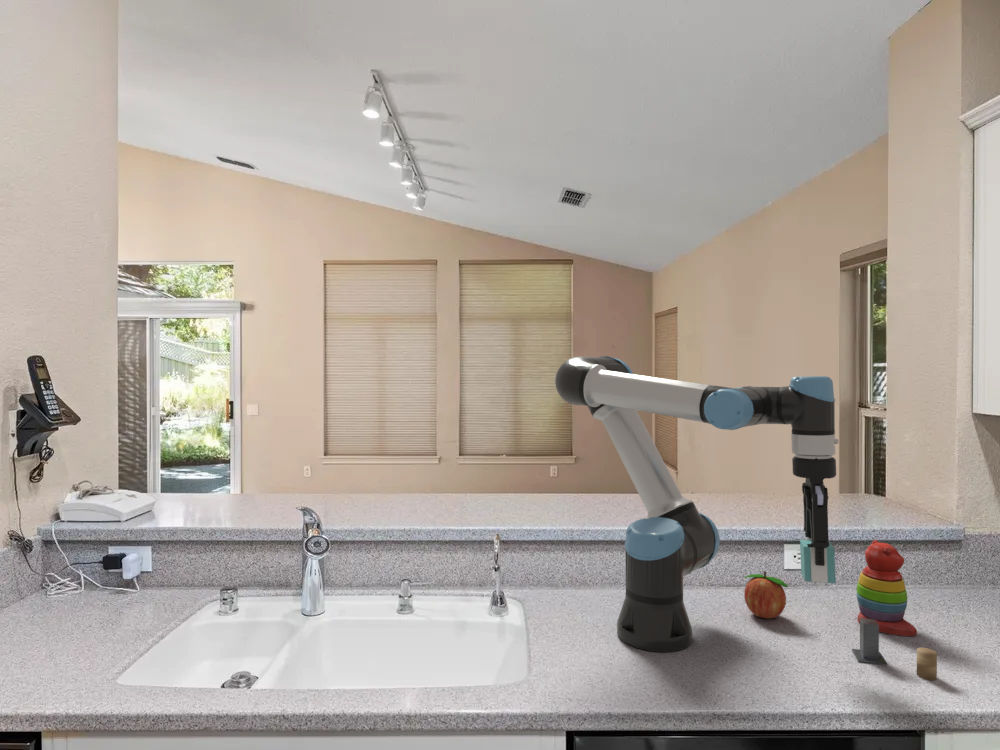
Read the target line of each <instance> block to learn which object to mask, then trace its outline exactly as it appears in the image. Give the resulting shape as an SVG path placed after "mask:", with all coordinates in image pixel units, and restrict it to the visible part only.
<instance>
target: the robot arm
mask: <svg viewBox="0 0 1000 750" xmlns="http://www.w3.org/2000/svg"><path fill="white" fill-rule="evenodd" d="M554 379H555V380H554V383H555V389H556V392H557V393H558V396H560V397H561V399H562V400H563V401H565V402H566V403H568V404H570V405H575V406H586V407H587V408H588V411H589V412H590V414H591V416H592V418H593V419H594V420H598V421H600V422H602V424H603V425H604V427H605V430H606V433H608V436H609V438H610V439H611V442H612V444H613V446H614V448H615V450H616V452H617V453H618V456H619V457H620V459H621V462H622V463H623V465H624V467H625V469H626V471H627V473H628V476H629V477H630V480H631V482H632V483H633V485H634V487H635V489H636V491H637V493H638V496H639V497H640V500H641V501H642V503H643V506H644V507H645V509H646V512H647V517H645V518H640V519H638V520H635V521H633V522H631V523H630V524H629V526H628V527H627V529H626V532H625V540H624V549H625V553H624V554H625V555H624V556H625V557H624V558H625V597H624V601H623V604H622V606H621V609H620V613H619V616H618V618H617V621H616V622H617V623H616V634H617V637H618V638H619V639H620V640H621V641H622V642H624V643H625V644H627V645H629V646H632V647H634V648H637V649H640V650H645V651H651V652H661V653H667V652H669V653H670V652H675V651H680V650H683V649H686V648H687V647H689V646H690V645H691V644H692V642H693V628H692V625H691V622H690V618H689V616H688V615H689V614H688V612H687V609H686V608H687V607H686V606H685V601H684V577H685V576H686V575H688V574H690V573H692V572H695V571H697V570H700V569H701V568H705V566H707V565H708V564H709V563H710V562H711V561H712V560H714V558H715V557H716V556H717V554H718V551H719V549H720V548H719V547H720V543H721V542H720V541H721V540H720V533H719V530H718V527H717V525H716V524H715V522H714V521H713V520H712V519H711V518H710V517H709V516H708V515H704V513H701V512H699V511H698V508H697V507H696V505H695V503H694V501H693V500H691V499H688V498H686V497H685V496H683V494H682V493H681V491H680V489H679V487H678V486H677V484H676V482H675V480H674V478H673V476H672V475H671V473H670V470H669V469H668V467H667V465H666V463H665V461H664V460H663V457H662V455H661V453H660V452H659V449H658V448H657V446H656V443H655V442H654V440H653V438H652V437H651V435H650V433H649V430H648V429H647V428H646V425H645V423H644V422H643V420H642V418H641V416H640V414H639V412H643V413H644V412H645V413H649V414H650V413H651V414H655V415H661V416H667V417H673V418H678V419H684V420H688V421H694V422H700V423H705V424H708V425H712V426H713V427H715V428H717V429H720V430H728V431H729V430H730V431H734V430H739V429H741V428H746V427H752V426H758V425H790V427H791V438H790V439H791V453H792V454H793V455H794V456H793V457H792V459H791V461H792V463H791V464H792V474H793V476H795V477H797V478H802V479H805V482H802V485H801V492H802V494H803V495H802V496H803V498H802V499H803V500H802V501H803V532H804V535H805V537H806V538H805V540H811V544H807V546H808V547H810V555H811V581H812V582H811V583H821V582H825V583H824V584H829V583H828V575H827V547H829V541H830V540H829V512H828V511H829V507H828V506H829V505H828V503H829V495H828V494H829V493H828V488H827V487H826V485H825V484H824V483H825V482H824V480H825V479H833V478H835V477H836V475H837V461H836V458H835V457H833V456H834V455H836V446H835V445H838V444H839V439H838V438H836V435H835V434H836V431H835V428H836V427H835V426H836V425H835V424H836V423H835V422H836V421H835V419H836V418H835V417H836V415H835V407H836V406H835V405H836V404H835V402H836V398H835V393H834V382H833V380H832V379H831V377H829V376H826V375H823V376H822V375H820V376H817V375H814V376H812V375H811V376H793V377H791V378H790V383H789V386H787V385H786V386H750V385H749V386H740V387H726V386H720V385H719V386H718V385H713V384H712V385H711V384H707V383H706V384H704V383H697V382H692V381H691V382H690V381H685V380H676V379H670V378H669V379H668V378H665V377H664V378H662V377H656V376H650V375H642V374H636V373H634V372H633V371H632V369H631V367H630V366H629V365H628V364H627V363H626V362H625V361H623V360H621V359H619V358H616V357H612V356H606V355H604V356H603V355H602V356H574V357H572V358H568V359H566V360H565V361H564V362H563V363H562V364H560V366H559V368H558V369H557V372H556V374H555V378H554Z"/></svg>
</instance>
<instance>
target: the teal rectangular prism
mask: <svg viewBox="0 0 1000 750" xmlns="http://www.w3.org/2000/svg"><path fill="white" fill-rule="evenodd" d="M807 544H811V540H806V539H800V540H799V545H800V546H799V548H800V571H801V572H800V574H801V575H802V578H803V580H804V582H808V583H813V582H812V581H811V555H810V547H808V546H807ZM827 575H828V583H827V584H836V557H835V547H834V546H833V544H832V543H831V542H830V540H829V547H827ZM820 583H822V584H823V583H824V584H826V583H825V582H820Z"/></svg>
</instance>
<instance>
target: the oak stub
mask: <svg viewBox="0 0 1000 750" xmlns="http://www.w3.org/2000/svg"><path fill="white" fill-rule="evenodd" d="M937 661H938V652H937V651H935V650H933V649H931V648H928V647H927V648H926V647H918V648H916V675H917V677H919V678H921V679H923V680H926V681H936V680H937V679H938V662H937Z"/></svg>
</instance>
